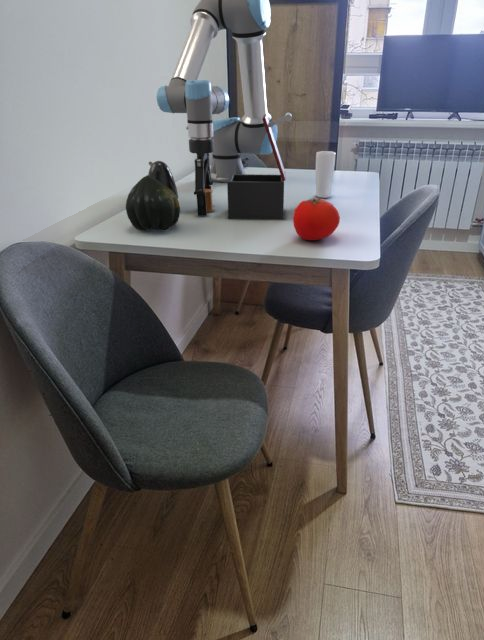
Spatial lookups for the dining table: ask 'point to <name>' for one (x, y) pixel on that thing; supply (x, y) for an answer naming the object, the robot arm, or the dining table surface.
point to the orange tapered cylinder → (208, 200)
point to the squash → (152, 205)
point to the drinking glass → (324, 173)
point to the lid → (272, 141)
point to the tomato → (315, 219)
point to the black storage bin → (255, 196)
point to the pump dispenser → (162, 175)
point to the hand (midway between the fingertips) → (205, 210)
